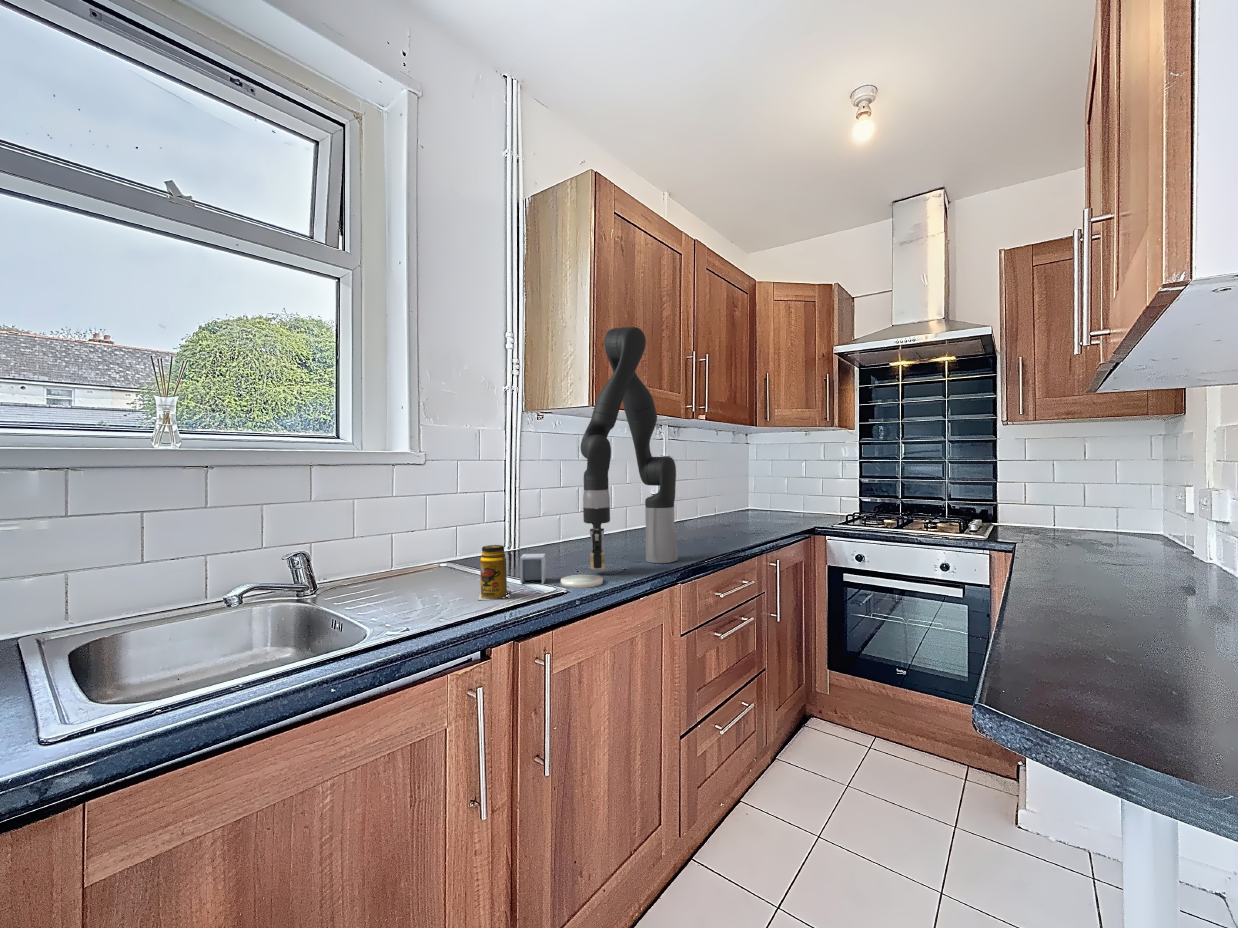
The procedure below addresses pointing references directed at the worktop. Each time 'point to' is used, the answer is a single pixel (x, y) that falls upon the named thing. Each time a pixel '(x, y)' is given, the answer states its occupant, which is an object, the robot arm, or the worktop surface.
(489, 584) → the condiment
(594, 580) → the dish
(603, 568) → the block
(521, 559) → the cover
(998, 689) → the worktop surface
